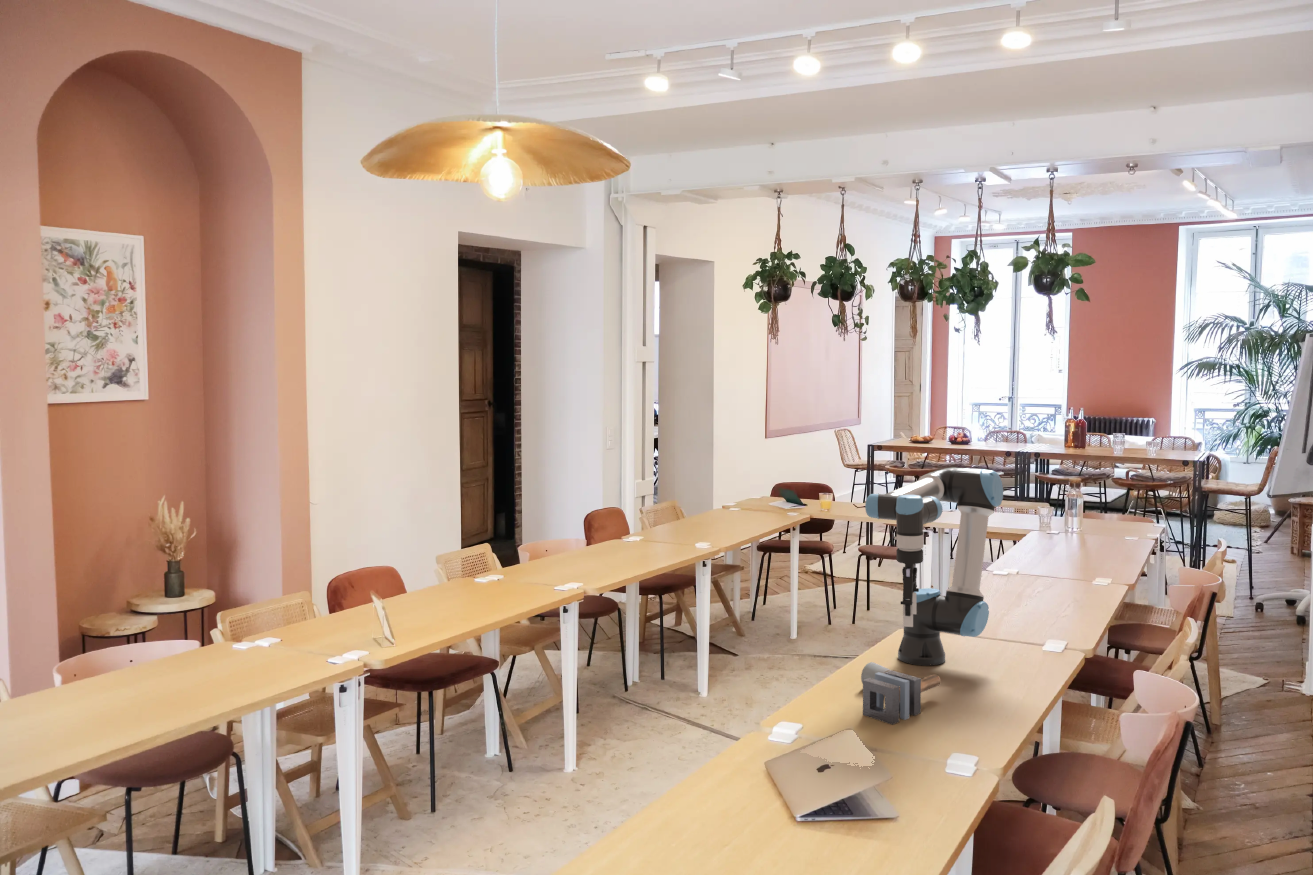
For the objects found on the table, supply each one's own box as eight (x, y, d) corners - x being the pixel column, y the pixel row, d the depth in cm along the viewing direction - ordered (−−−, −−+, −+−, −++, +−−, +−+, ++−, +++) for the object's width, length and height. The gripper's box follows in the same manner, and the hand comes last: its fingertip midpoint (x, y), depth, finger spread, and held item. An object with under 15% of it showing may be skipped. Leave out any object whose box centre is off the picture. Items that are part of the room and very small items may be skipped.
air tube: (929, 685, 289) (929, 671, 289) (941, 688, 286) (941, 674, 286) (887, 701, 276) (887, 686, 276) (900, 704, 273) (900, 690, 273)
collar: (869, 712, 276) (869, 677, 275) (899, 721, 268) (899, 686, 267) (862, 714, 274) (862, 680, 273) (892, 724, 266) (892, 688, 265)
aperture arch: (879, 708, 279) (879, 672, 278) (909, 717, 271) (909, 680, 270) (874, 710, 277) (874, 673, 277) (904, 719, 270) (905, 682, 269)
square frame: (891, 703, 282) (891, 670, 281) (920, 713, 275) (920, 678, 274) (884, 706, 280) (884, 672, 279) (914, 715, 273) (914, 680, 272)
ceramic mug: (881, 696, 289) (881, 670, 288) (860, 688, 295) (860, 664, 295) (904, 689, 295) (905, 664, 295) (883, 682, 302) (884, 658, 301)
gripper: (900, 539, 297) (900, 608, 299) (892, 556, 273) (892, 630, 275) (925, 540, 295) (925, 609, 296) (920, 557, 271) (920, 632, 273)
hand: (909, 620), depth 286 cm, fingers open, 13 cm apart
